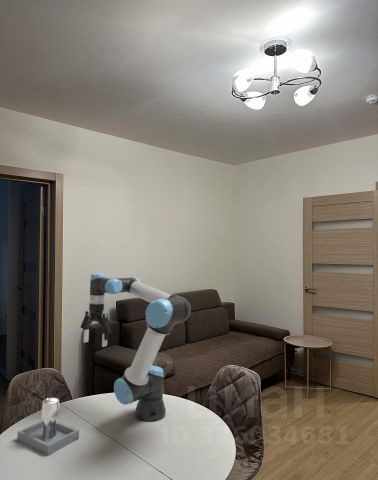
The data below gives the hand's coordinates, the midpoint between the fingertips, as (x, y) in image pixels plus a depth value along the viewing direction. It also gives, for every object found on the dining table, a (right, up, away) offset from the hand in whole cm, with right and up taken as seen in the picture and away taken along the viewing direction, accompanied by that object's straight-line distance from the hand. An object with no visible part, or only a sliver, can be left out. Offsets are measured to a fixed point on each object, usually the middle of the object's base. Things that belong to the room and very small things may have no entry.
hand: (95, 344), depth 179 cm
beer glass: (-10, -29, -35) cm, 46 cm away
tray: (-10, -30, -34) cm, 47 cm away
